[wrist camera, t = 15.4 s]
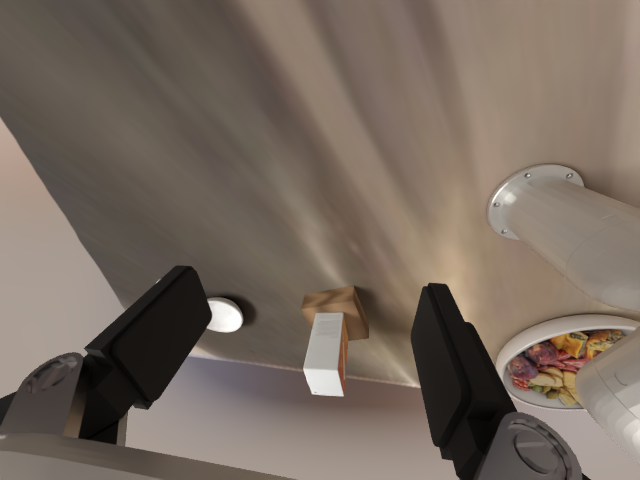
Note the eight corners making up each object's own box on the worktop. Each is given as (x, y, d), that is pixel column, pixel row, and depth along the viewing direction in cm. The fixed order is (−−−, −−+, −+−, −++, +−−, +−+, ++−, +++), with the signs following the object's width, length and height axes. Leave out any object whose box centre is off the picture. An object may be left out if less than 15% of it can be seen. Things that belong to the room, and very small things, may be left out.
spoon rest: (251, 298, 60) (238, 321, 53) (244, 326, 66) (232, 349, 60) (160, 267, 58) (137, 286, 52) (162, 298, 65) (141, 319, 58)
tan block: (353, 284, 52) (353, 300, 48) (368, 320, 58) (368, 338, 53) (305, 293, 56) (300, 309, 52) (323, 327, 61) (320, 344, 57)
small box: (348, 336, 54) (344, 397, 43) (322, 336, 55) (311, 395, 44) (344, 311, 50) (338, 371, 39) (315, 311, 52) (301, 369, 40)
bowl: (696, 315, 44) (755, 354, 38) (597, 397, 60) (627, 435, 53) (523, 297, 48) (549, 329, 41) (471, 379, 63) (485, 412, 56)
